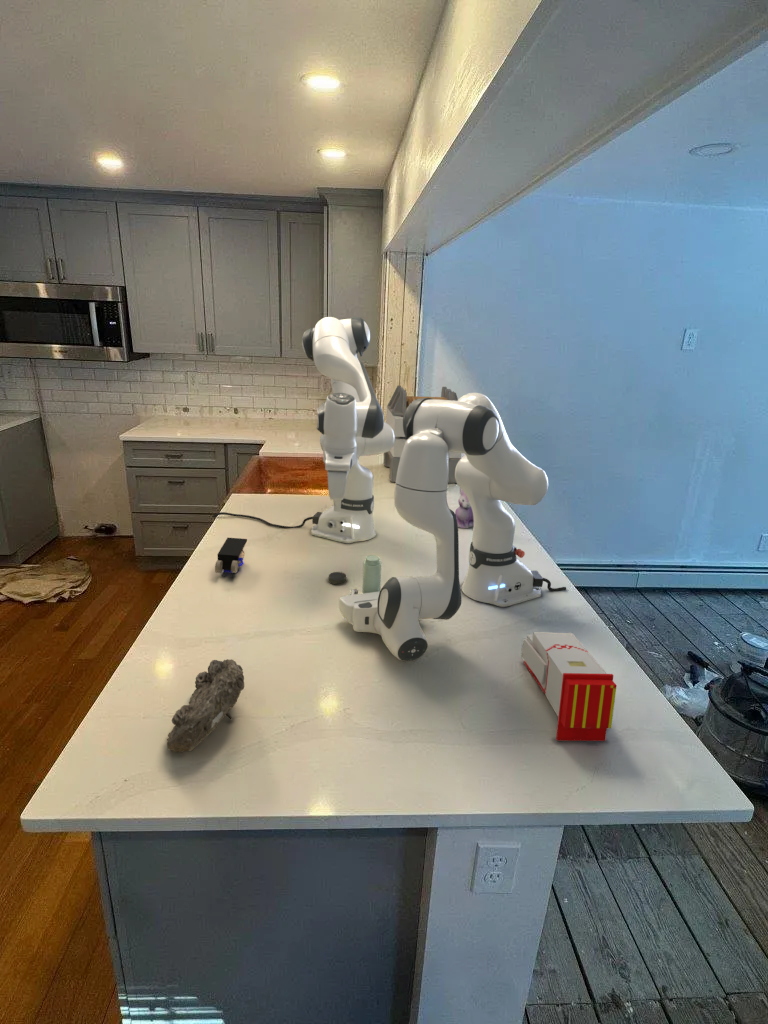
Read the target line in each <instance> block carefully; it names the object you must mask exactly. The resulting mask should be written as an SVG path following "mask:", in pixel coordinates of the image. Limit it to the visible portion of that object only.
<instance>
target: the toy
mask: <svg viewBox="0 0 768 1024" xmlns="http://www.w3.org/2000/svg"><path fill="white" fill-rule="evenodd" d="M522 639H523V640H522V645H521V653H520V657H521V658H522V659H523V664H524V665H525V667H526V668H527V670H528V672H529V673H530V675H531V676H532V677H533V679H534V680H535V682H536V683H537V685H538V686H539V688H540V690H541V691H542V692H543V693H544V694H545V697H546V698H547V701H548V702H549V704H550V705H551V708H552V709H553V710H554V712H555V714H556V716H557V718H558V719H557V728H556V737H555V740H556V741H562V742H563V741H566V742H567V741H570V742H571V741H572V742H574V741H575V742H606V737H607V732H608V731H607V730H608V729H612V726H613V725H612V723H613V718H614V717H613V716H614V710H615V701H616V693H617V686H618V685H617V684H616V683H615V681H614V674H613V673H607V671H605V670H604V668H602V666H601V665H600V664H599V663H598V661H597V660H596V659H595V658H594V657H593V656H592V654H590V652H589V651H588V650H587V648H586V647H585V646H584V645H583V644H582V643H581V642H580V640H579V639H578V638H577V637H576V636H575V634H574V633H573V632H541V631H540V632H537V631H536V632H535V631H534V632H533V633H527V635H526V638H522Z"/></svg>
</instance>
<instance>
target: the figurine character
mask: <svg viewBox="0 0 768 1024" xmlns="http://www.w3.org/2000/svg"><path fill="white" fill-rule="evenodd" d="M247 542H248V538H240V537H226V539H225V541H224V543H223V544H222V546H221V547H220V549H219V551H218V552H217V560H216V562H215V564H214V572H215V573H221V577H222V578H224V577H225V576H226V574H227V573H230V574H231V573H232V574H231V578H234V577H235V575H236V573H237V572H239V571H240V567H242V566H243V565H244V564H245V562H244V558H245V551H244V547H245V546H246V544H247Z"/></svg>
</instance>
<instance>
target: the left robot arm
mask: <svg viewBox="0 0 768 1024" xmlns="http://www.w3.org/2000/svg"><path fill="white" fill-rule="evenodd" d="M370 331H371V329H370V327H369V325H368V324H367V322H366V320H365V318H364V319H363V318H362V317H360V316H352V317H350V318H345V319H344V318H343V319H339V318H337V317H334V316H325V317H322V318H320V320H319V319H318V321H317V322H316V323H315V326H314V327H310V328H308V329H307V330H305V331H304V332H303V334H302V337H301V339H302V340H301V346H302V350H303V352H304V354H305V355H306V357H307V358H308V359H309V360H310V361H312V362H314V366H315V368H316V369H317V371H318V372H319V373H320V374H321V375H323V376H324V377H326V378H328V379H330V384H331V389H332V393H330V394H328V395H327V397H326V400H325V401H324V402H323V403H321V404H320V405H319V406H318V407H317V408H316V413H317V424H316V430H317V431H318V432H319V433H320V436H319V445H320V448H321V450H322V461H323V463H324V470H325V471H326V472H327V474H326V475H327V488H328V497H329V499H330V501H331V500H332V501H333V504H332V505H331V506H329V507H328V508H326V509H325V510H323V512H322V511H317V512H316V513H315V514H314V515H313V516H309V517H306V518H304V519H303V520H302V523H301V524H299V525H295V526H287V525H282V524H281V525H280V524H277V523H271V522H268V521H267V520H265V519H263V518H260V517H257V516H253V515H249V514H238V513H231V512H227V511H225V512H224V511H221V512H217V513H215V514H214V515H212V518H216V517H218V516H222V515H224V516H231V517H238V518H246V519H251V520H252V519H253V520H257V521H259V522H262V523H264V524H266V525H267V526H270V527H274V528H279V529H300V528H302V527H304V526H305V524H306V522H307V521H310V520H312V524H313V526H312V528H311V530H310V533H311V536H315V537H319V538H323V539H326V540H330V541H336V542H339V543H343V544H352V543H357V542H365V541H368V540H372V539H373V538H375V537H376V535H377V532H376V528H375V523H374V513H373V512H374V509H375V496H374V474H373V472H372V471H371V469H369V468H367V467H366V466H364V465H362V464H360V461H359V459H360V457H366V456H367V457H368V456H377V455H382V454H384V453H385V452H388V451H390V450H391V449H392V447H393V445H394V442H395V435H394V431H393V429H392V428H391V426H390V425H388V424H387V423H386V421H385V416H384V411H383V408H382V406H381V404H380V403H379V401H378V399H377V396H376V393H375V390H374V388H373V385H372V383H371V382H372V381H371V379H370V376H369V374H368V371H367V369H366V366H365V365H364V363H363V361H361V360H360V359H359V358H358V354H359V356H360V357H363V356H364V352H365V351H367V350H368V347H369V345H370V341H371V332H370Z"/></svg>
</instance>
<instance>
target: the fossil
mask: <svg viewBox="0 0 768 1024" xmlns="http://www.w3.org/2000/svg"><path fill="white" fill-rule="evenodd" d="M243 670H244V669H243V667H242V665H240V664H237V662H236V661H235V660H234V659H232V658H231V659H227V658H226V659H224V660H223V661H222V660H217V659H212V660H211V661H210V663H209V665H208V666H207V671H201V672H199V673H198V674H197V675H196V676H195V680H194V684H195V685H194V687H195V689H194V690H193V693H192V694H191V697H190V698H189V700H188V704H184V705H182V706H181V707H180V709H177V710H176V711H175V713H174V715H173V716H172V718H171V723H172V724H173V727H172V730H171V731H170V732H168V734H167V738H166V741H167V742H166V745H167V749H168V750H169V751H173V752H174V753H176V754H178V753H182V752H188V751H189V752H192V751H193V750H195V748H196V747H197V746H199V744H200V743H201V742H203V741H204V740H205V739H206V738H207V737H208V736H209V735H210V734H211V733H212V732H214V730H215V729H217V727H218V726H219V724H220V722H221V721H222V720H223V719H224V718H225V716H226V717H227V719H229V720H233V717H232V715H230V714H229V710H230V709H231V708H234V706H235V704H236V703H237V702H238V699H239V697H240V695H241V693H242V691H243V690H245V689H244V688H245V675H244V671H243Z"/></svg>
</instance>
